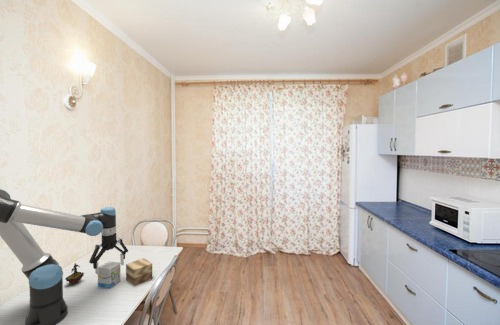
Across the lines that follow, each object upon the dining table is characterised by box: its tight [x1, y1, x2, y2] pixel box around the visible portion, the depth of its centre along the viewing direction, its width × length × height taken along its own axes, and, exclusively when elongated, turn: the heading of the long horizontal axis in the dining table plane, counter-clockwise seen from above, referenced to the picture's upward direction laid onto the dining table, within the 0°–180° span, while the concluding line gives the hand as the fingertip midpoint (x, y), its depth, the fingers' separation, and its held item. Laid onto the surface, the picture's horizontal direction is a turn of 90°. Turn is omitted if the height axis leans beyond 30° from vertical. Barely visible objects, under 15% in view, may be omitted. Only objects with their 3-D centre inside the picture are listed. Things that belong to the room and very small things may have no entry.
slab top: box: [125, 257, 153, 278], centre depth 145 cm, size 11×11×5 cm
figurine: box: [65, 262, 85, 285], centre depth 139 cm, size 10×8×12 cm
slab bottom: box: [125, 271, 153, 287], centre depth 145 cm, size 11×11×5 cm
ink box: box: [97, 260, 121, 289], centre depth 139 cm, size 8×8×12 cm
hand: (110, 268), depth 139 cm, fingers open, 13 cm apart
